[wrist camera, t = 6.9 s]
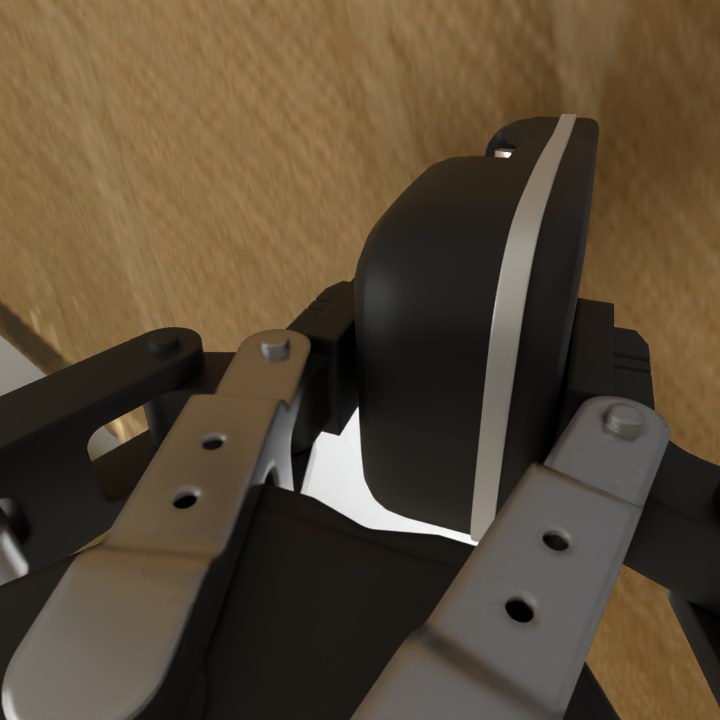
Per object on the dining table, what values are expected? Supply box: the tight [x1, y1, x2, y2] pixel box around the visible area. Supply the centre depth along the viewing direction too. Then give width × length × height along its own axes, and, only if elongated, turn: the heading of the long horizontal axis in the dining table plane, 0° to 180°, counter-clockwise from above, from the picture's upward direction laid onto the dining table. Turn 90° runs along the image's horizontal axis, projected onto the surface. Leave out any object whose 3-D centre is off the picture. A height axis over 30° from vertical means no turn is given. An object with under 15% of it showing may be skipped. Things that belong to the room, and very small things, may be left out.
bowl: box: [306, 407, 479, 546], centre depth 34 cm, size 19×19×8 cm
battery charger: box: [354, 114, 599, 542], centre depth 14 cm, size 7×4×11 cm, turn 2°
